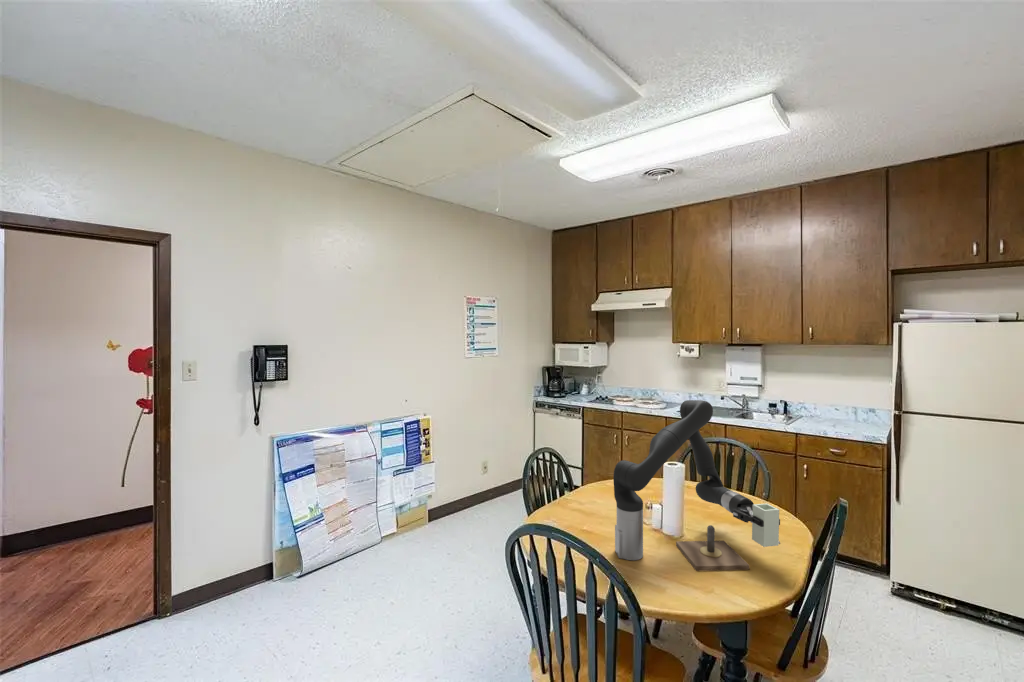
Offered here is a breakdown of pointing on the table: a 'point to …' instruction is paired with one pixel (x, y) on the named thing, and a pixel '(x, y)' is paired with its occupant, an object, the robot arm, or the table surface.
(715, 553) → the post stand
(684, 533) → the table surface
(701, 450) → the robot arm
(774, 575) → the table surface
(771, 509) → the sleeve
